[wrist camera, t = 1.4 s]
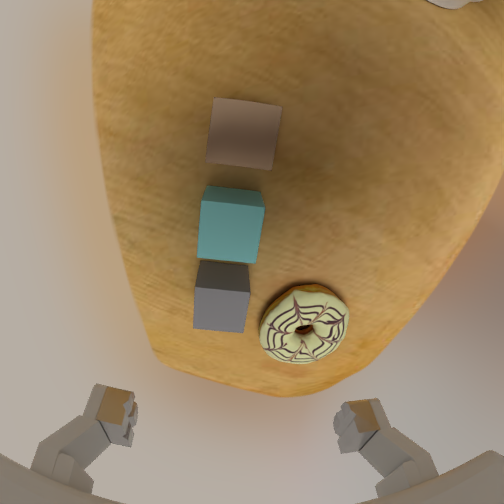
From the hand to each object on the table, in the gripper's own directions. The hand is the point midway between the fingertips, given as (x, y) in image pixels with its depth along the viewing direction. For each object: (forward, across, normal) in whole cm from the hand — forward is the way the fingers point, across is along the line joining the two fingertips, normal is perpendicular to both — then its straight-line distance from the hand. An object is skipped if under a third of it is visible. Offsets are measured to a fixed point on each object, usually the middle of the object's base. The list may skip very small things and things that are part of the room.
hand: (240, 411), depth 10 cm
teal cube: (+21, +1, -1) cm, 21 cm away
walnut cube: (+20, +1, -9) cm, 22 cm away
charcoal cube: (+21, +1, +7) cm, 22 cm away
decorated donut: (+21, -9, +11) cm, 26 cm away
